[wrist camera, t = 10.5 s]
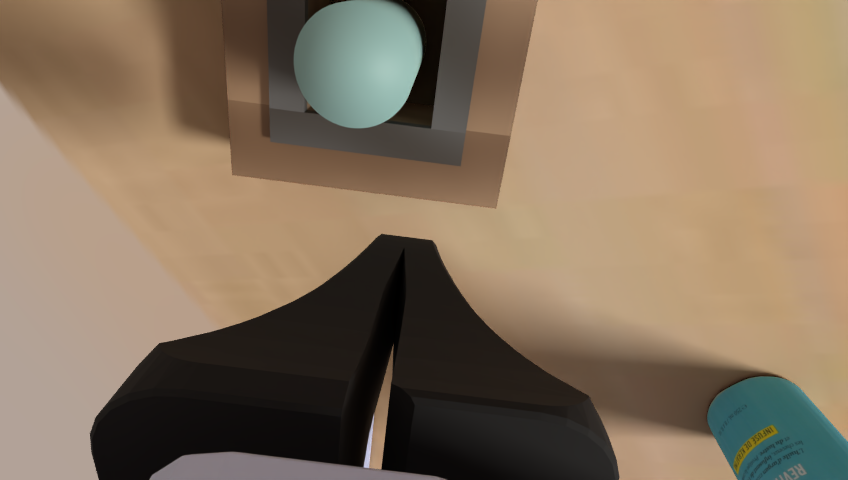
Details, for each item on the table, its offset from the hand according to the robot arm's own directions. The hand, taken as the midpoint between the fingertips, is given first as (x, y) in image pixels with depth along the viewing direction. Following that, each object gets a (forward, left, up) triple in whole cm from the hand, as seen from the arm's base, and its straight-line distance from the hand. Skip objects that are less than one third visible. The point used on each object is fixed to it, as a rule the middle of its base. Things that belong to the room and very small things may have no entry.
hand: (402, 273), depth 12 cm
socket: (+4, +2, -10) cm, 11 cm away
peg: (+4, +2, -10) cm, 11 cm away
